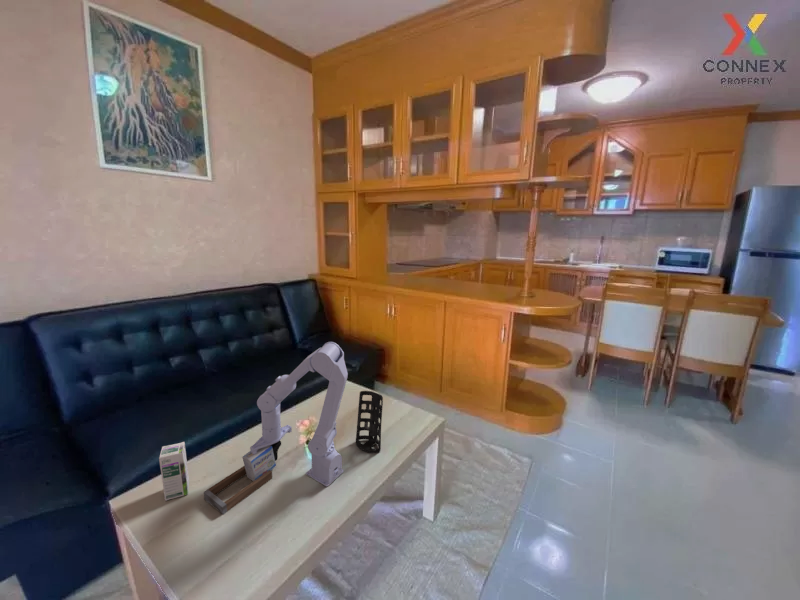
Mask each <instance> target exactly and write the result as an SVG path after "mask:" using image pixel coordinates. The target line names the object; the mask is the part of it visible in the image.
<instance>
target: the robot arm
mask: <svg viewBox="0 0 800 600" xmlns="http://www.w3.org/2000/svg"><path fill="white" fill-rule="evenodd" d="M308 372H312V373H316V372H317V373H318V374H320V375H321V376H322V377H324V378H325V379H326V380H327V381H329V382H328V386H327V389H326V394H325V397H324V401H323V405H322V409H321V413H320V416H319V421H318V424H317V426H316V428H315V430H314V434H313V435H312V436H313V437H311V439H310V440H309V442H308V444H307V449H308V451H309V453H310V454H311V468H310V469H309V470H307V471H306V472H305V475H306V476H307V477H309V478H311V479H313V480H314V481H316V482H318V483H319V484H322V485H323V486H325V487H328V486H330V485H331V484H332V483H333V482H334V481H335V480H336V479H337V478H338V477H340V475H342V474H343V473H344V469H343V467H342V465H343V456H342V455H341V454H340V453H339V452H338V450H336V448H335V443H334V439H335V438H336V436H337V416H338V412H339V409H340V406H341V402H342V398H343V395H344V391H345V389H346V383H347V381H348V380H347V379H348V375H349V373H348V369H347V366H346V361H345V352H344V351H343V349H342V347H340V345H339V344H337V343H336V342H334V341H328V342H325V343H324V344H323V345H322V347H319V348H318V349H316V350H315V351H313V352H312V353H311V354H309V355H307V357H306V358H305V359H303V360H302V362H301V363H300V364H299V365H298V366H296V367H295V369H293V371H292V372H290V374H283V375H279V376H278V377H276V378H275V382H274V383H273V384H272V385H269V386H268V387H267V388H266V390H265V391H264V392H263V393H262V394H260V395H259V397H258V399H257V401H256V405H257V408H258V409H259V410H260V413H261V414H260V415H261V437H260V438H259V439H258V440H257V441H256V442H254V444H252V445H251V446H250V448H249V450H250V451H249V452H251V453H252V454H254V455H255V454H256V453H257V451H258V450H259V449H260V448H263V447H266V446H269V445H271V446H272V448H273V453H274V458H275V462H276V461H278V457H279V456H278V452H279V448H280V447H281V446H282V441H281V440H282V439H283V438H284V436H285V435H286V434H287V433H292V429H293V428H292V426H291V425H290V424H286V425H284V426H282V424H281V423H282V421H281V418H282V417H281V402H282V401H284V400H285V399H286V398H287V397H288V396H289V395H290V394H291V393H292V392H293V391H294V390H296V388H297V382H298V381H299V380H301V378H303V377H304V376H305V375H306V374H307V373H308ZM281 426H282V427H281Z"/></svg>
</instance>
